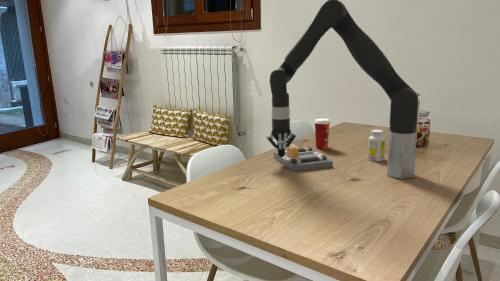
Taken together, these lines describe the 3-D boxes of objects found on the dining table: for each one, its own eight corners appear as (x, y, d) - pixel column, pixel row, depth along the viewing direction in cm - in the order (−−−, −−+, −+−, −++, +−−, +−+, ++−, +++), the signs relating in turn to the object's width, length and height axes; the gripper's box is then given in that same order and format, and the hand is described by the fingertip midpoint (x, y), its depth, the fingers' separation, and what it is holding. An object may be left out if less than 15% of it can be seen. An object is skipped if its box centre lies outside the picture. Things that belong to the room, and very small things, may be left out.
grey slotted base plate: (326, 165, 163) (326, 156, 162) (293, 169, 159) (293, 160, 158) (309, 154, 179) (309, 146, 178) (279, 158, 175) (279, 150, 174)
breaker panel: (332, 166, 161) (332, 159, 160) (292, 171, 156) (292, 164, 155) (310, 152, 181) (310, 146, 181) (274, 157, 177) (273, 150, 176)
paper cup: (331, 149, 186) (331, 121, 182) (315, 150, 186) (315, 121, 182) (328, 145, 193) (328, 117, 190) (312, 145, 193) (313, 118, 190)
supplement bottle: (382, 157, 172) (383, 128, 168) (385, 161, 165) (387, 132, 162) (366, 157, 172) (367, 129, 169) (369, 161, 166) (370, 132, 163)
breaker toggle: (298, 158, 165) (298, 146, 164) (292, 158, 164) (292, 147, 163) (294, 155, 170) (294, 143, 168) (288, 155, 169) (287, 144, 168)
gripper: (268, 120, 156) (269, 161, 160) (299, 117, 159) (299, 157, 164) (262, 116, 163) (263, 156, 167) (292, 114, 166) (292, 152, 171)
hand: (281, 156), depth 165 cm, fingers closed
